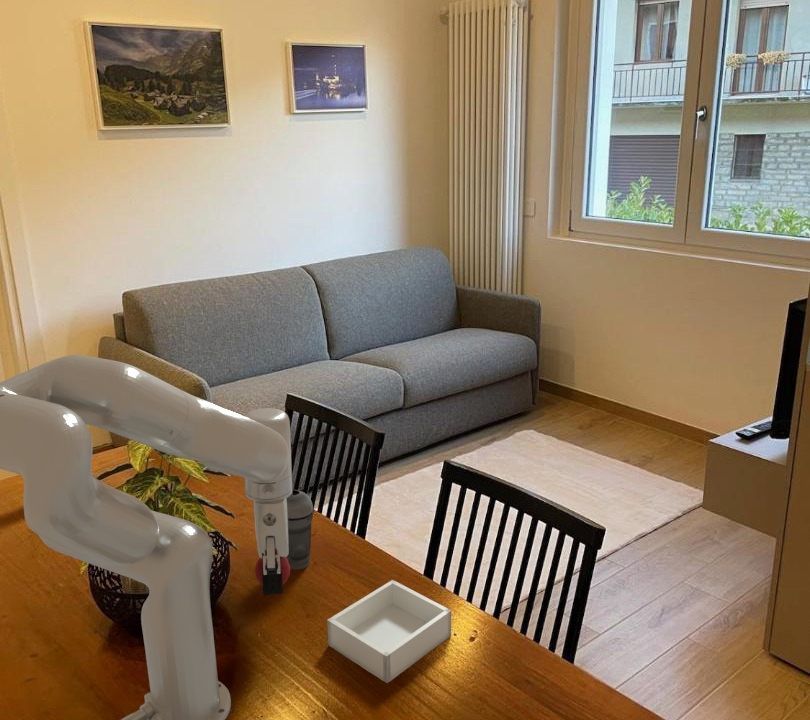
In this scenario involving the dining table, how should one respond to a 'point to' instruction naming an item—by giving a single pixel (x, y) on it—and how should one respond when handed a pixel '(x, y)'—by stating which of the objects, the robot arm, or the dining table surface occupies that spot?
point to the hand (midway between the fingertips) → (273, 581)
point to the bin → (389, 630)
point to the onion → (283, 562)
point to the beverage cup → (299, 529)
